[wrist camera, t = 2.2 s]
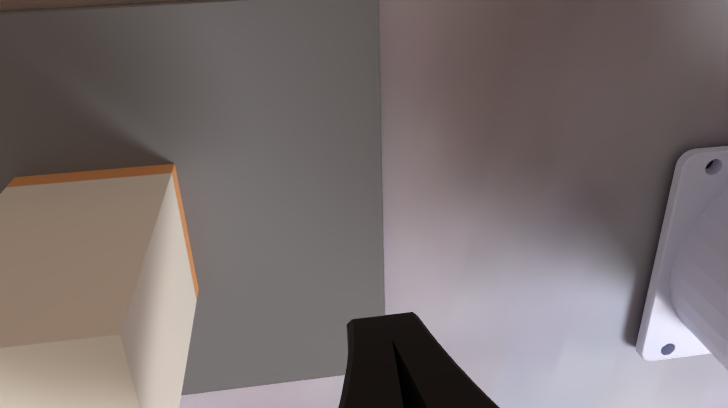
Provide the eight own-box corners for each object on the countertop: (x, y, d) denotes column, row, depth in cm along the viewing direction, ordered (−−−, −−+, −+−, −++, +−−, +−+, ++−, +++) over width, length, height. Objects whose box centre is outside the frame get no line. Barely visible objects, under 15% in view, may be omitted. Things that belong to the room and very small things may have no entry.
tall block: (175, 163, 16) (119, 334, 10) (198, 288, 18) (164, 498, 12) (14, 176, 16) (-146, 364, 10) (55, 304, 18) (-57, 528, 11)
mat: (375, -10, 15) (378, -8, 15) (384, 361, 21) (385, 369, 21) (-448, 36, 13) (-467, 40, 13) (-197, 433, 19) (-205, 443, 19)
